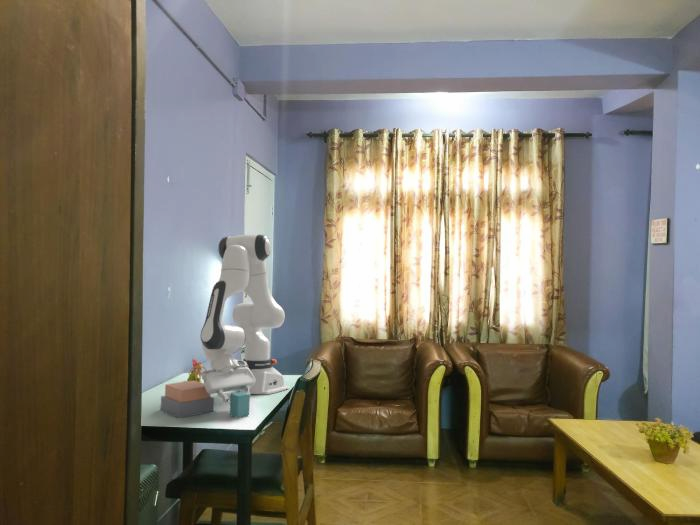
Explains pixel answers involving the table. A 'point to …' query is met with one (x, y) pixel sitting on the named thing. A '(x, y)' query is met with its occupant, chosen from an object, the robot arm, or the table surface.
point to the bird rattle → (192, 375)
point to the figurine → (198, 371)
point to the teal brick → (239, 404)
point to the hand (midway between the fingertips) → (237, 399)
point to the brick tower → (186, 399)
